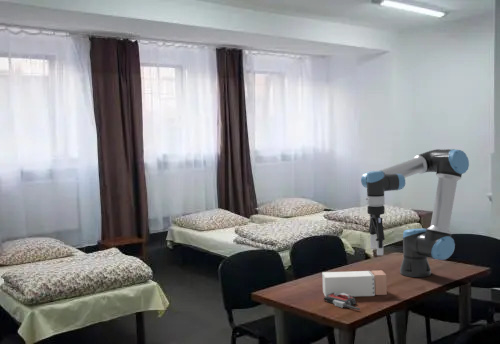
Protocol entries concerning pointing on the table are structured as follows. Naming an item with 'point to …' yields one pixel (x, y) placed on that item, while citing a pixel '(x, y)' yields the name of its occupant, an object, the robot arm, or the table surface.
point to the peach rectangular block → (380, 282)
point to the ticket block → (349, 283)
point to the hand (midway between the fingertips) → (376, 251)
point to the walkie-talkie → (341, 300)
